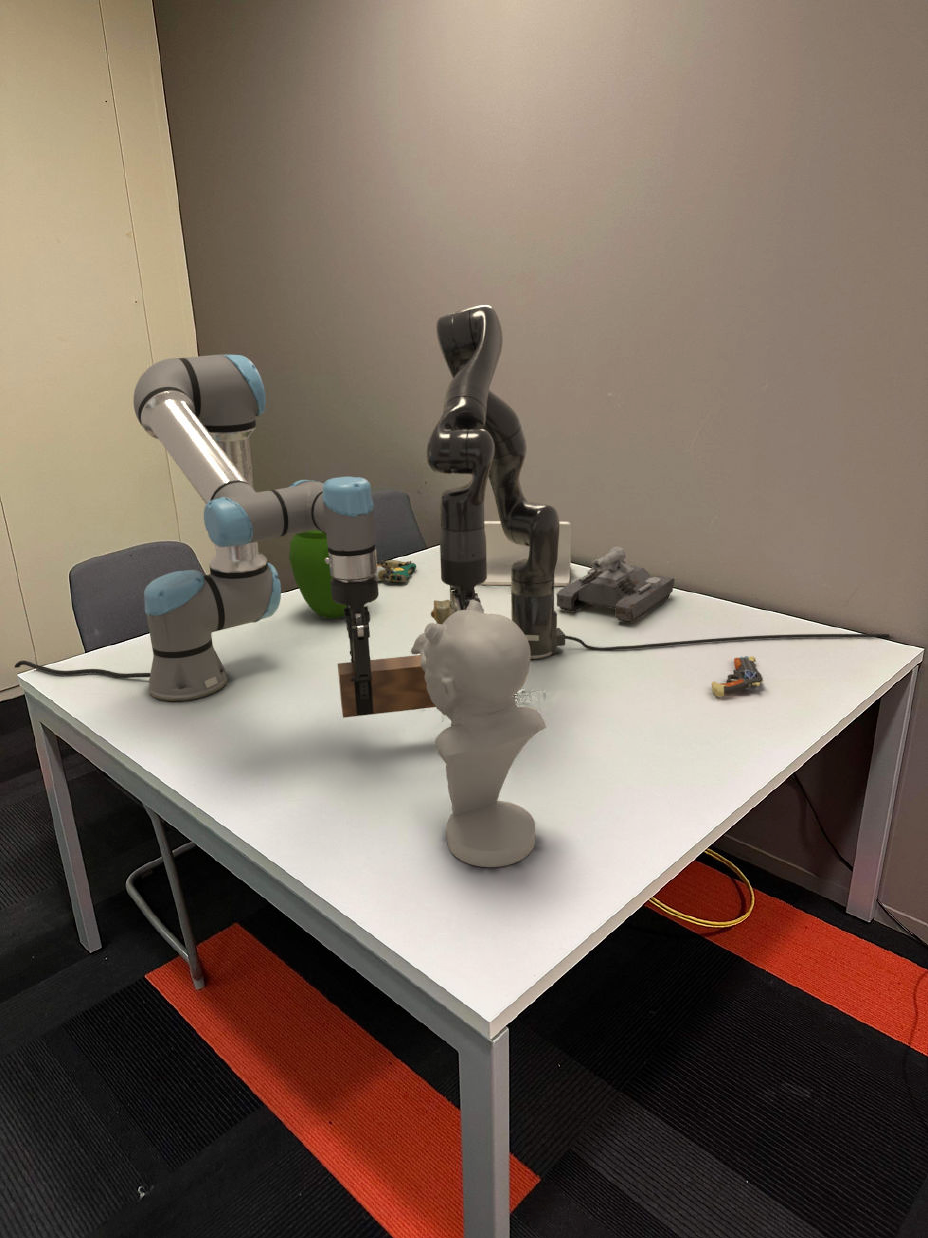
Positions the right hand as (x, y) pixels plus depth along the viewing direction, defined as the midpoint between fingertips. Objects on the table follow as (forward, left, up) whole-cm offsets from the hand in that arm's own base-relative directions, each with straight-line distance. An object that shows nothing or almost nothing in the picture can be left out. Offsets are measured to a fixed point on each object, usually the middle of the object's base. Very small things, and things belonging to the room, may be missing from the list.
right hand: (465, 645), depth 145 cm
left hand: (+18, 0, -9) cm, 20 cm away
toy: (-50, -59, -18) cm, 80 cm away
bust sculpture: (+5, +27, -18) cm, 33 cm away
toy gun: (-57, -11, -18) cm, 61 cm away
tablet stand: (-35, -89, -18) cm, 97 cm away
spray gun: (+1, -99, -18) cm, 101 cm away
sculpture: (-1, -31, -18) cm, 36 cm away
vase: (+19, -72, -18) cm, 77 cm away
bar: (+9, 0, -10) cm, 13 cm away
